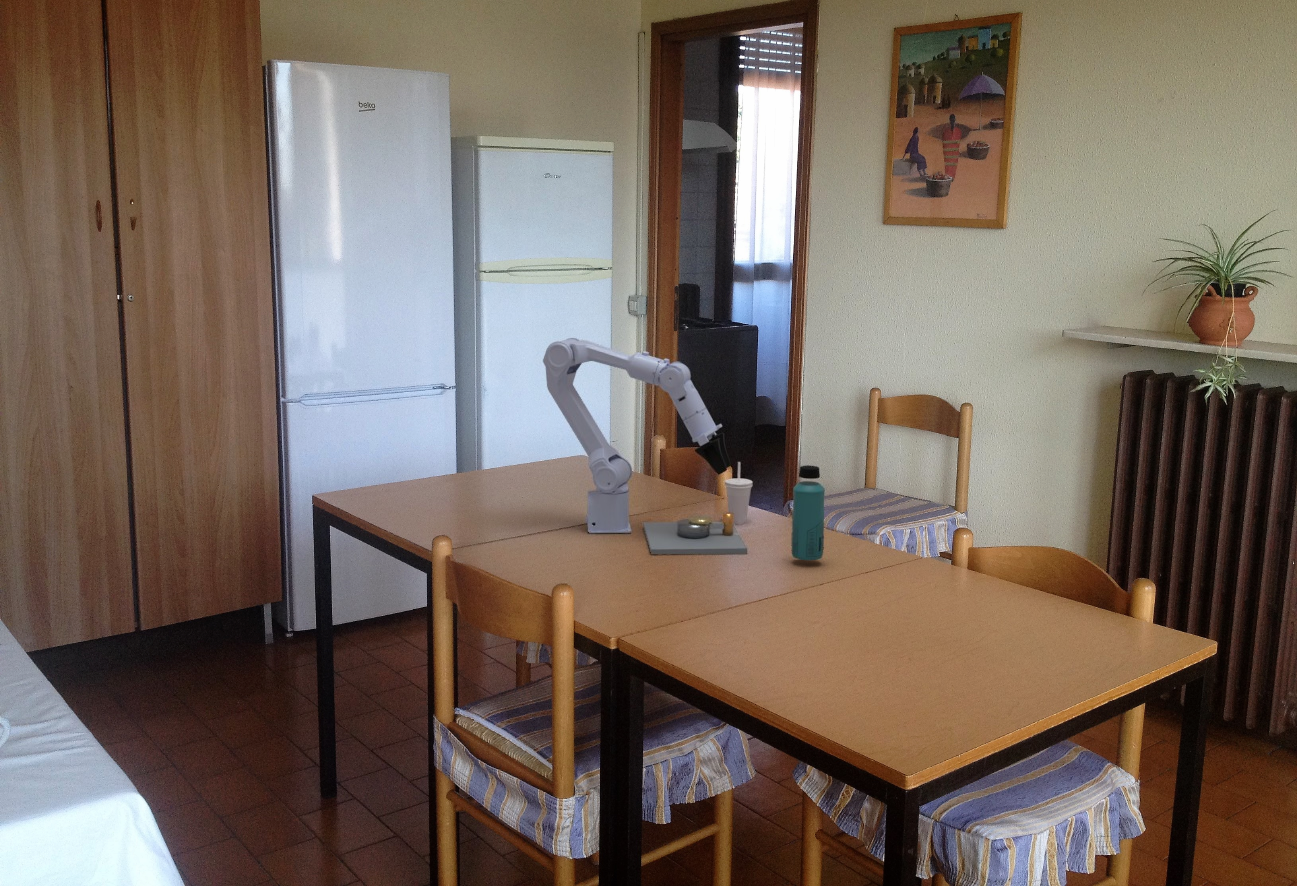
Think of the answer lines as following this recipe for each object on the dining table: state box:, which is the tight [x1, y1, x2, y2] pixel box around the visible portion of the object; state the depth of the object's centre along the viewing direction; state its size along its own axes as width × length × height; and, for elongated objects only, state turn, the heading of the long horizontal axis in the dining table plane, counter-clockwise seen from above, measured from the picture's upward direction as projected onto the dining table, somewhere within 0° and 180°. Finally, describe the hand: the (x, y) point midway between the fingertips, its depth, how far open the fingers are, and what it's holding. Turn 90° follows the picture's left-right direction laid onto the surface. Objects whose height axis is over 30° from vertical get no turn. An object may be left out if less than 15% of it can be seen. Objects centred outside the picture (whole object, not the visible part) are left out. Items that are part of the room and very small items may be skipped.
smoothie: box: [724, 461, 754, 525], centre depth 265 cm, size 6×6×14 cm
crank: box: [677, 511, 735, 538], centre depth 250 cm, size 12×7×4 cm, turn 94°
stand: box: [642, 521, 748, 555], centre depth 250 cm, size 20×22×1 cm
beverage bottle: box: [790, 464, 826, 561], centre depth 233 cm, size 6×7×20 cm
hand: (724, 470), depth 249 cm, fingers open, 7 cm apart
